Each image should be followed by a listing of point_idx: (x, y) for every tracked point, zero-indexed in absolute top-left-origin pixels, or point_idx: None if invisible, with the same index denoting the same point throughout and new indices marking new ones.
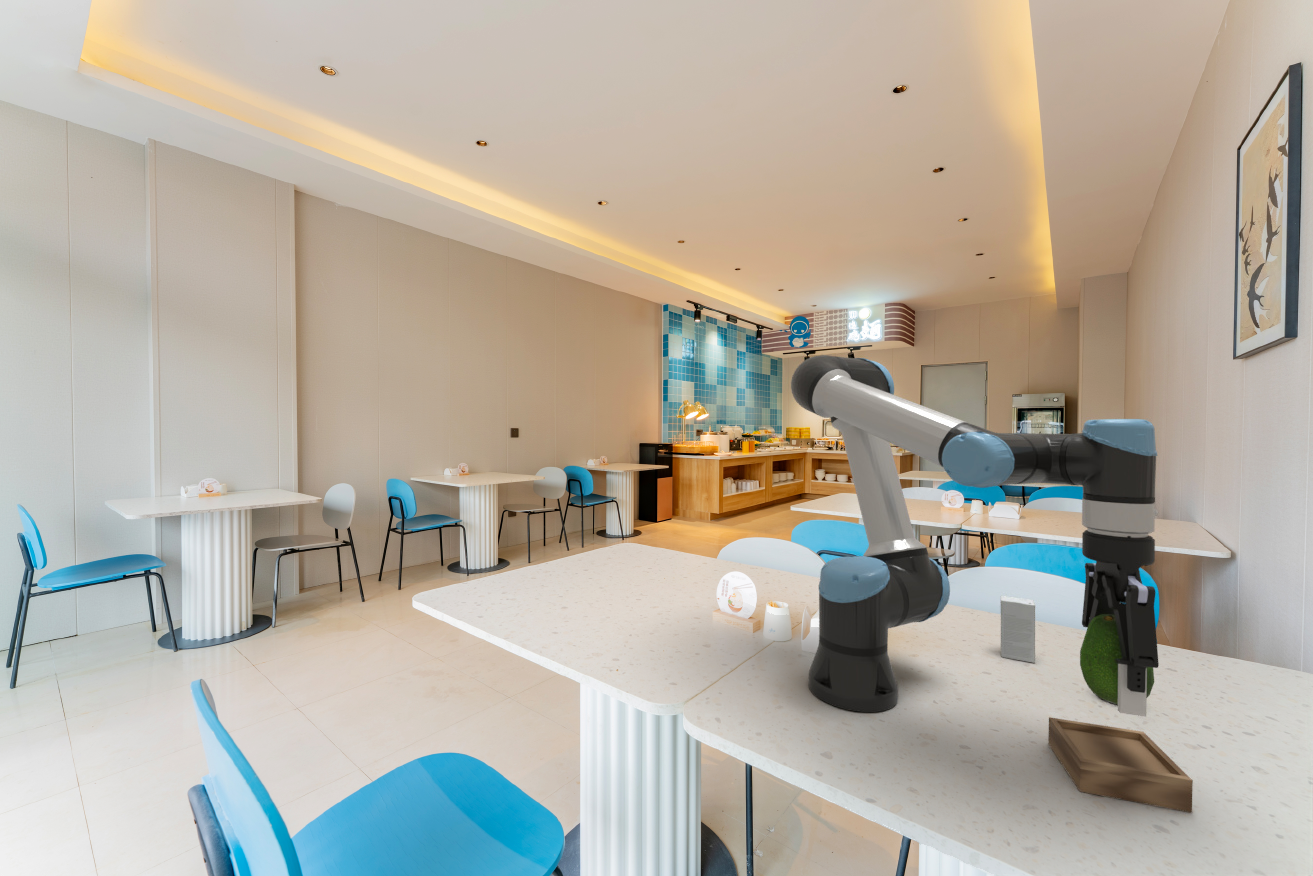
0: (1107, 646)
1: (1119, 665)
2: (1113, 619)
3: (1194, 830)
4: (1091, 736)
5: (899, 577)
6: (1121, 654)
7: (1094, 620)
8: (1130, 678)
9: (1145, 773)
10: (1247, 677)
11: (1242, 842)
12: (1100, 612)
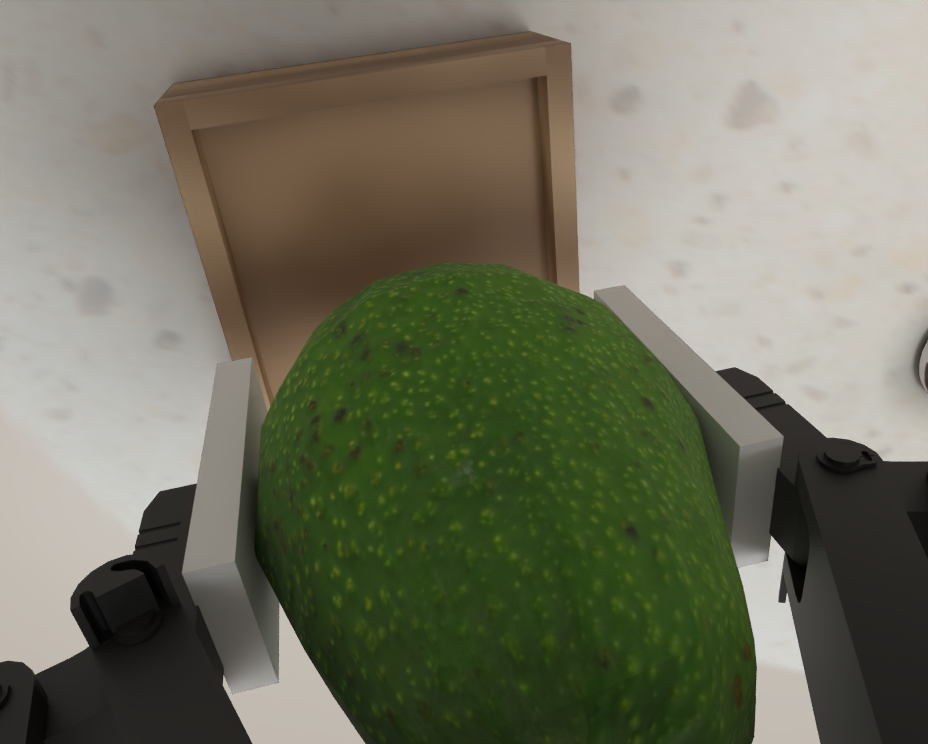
0: (340, 565)
1: (211, 544)
2: None
3: (156, 380)
4: (510, 204)
5: None
6: (293, 612)
7: (612, 644)
8: (150, 548)
9: (224, 331)
10: None
11: (175, 470)
12: (856, 720)
